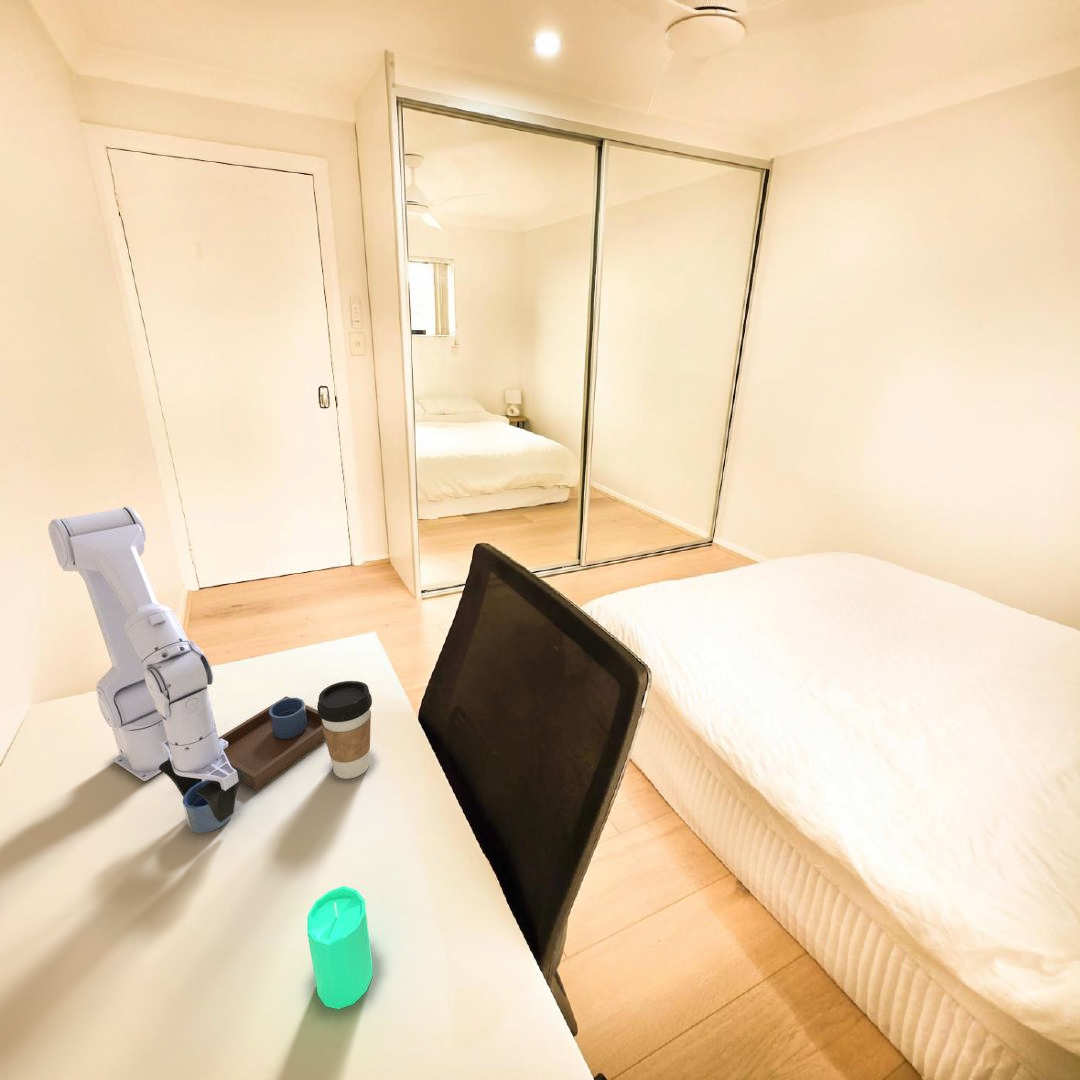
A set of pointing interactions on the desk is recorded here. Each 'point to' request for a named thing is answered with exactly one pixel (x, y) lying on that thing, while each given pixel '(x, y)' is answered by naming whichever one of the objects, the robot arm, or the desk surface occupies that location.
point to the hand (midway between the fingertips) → (209, 806)
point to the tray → (268, 746)
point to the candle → (340, 947)
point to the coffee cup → (347, 726)
